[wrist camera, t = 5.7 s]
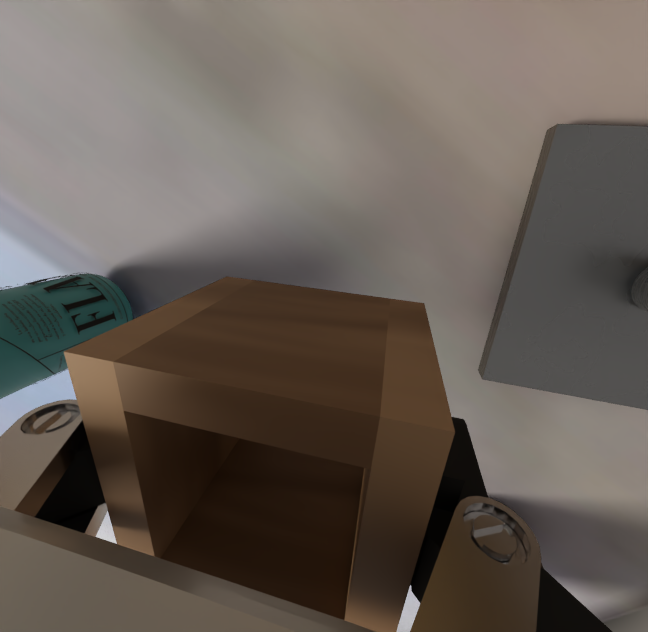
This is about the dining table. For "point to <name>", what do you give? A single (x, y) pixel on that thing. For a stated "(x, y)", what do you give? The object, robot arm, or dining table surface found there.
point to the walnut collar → (273, 440)
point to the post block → (579, 272)
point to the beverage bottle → (53, 324)
